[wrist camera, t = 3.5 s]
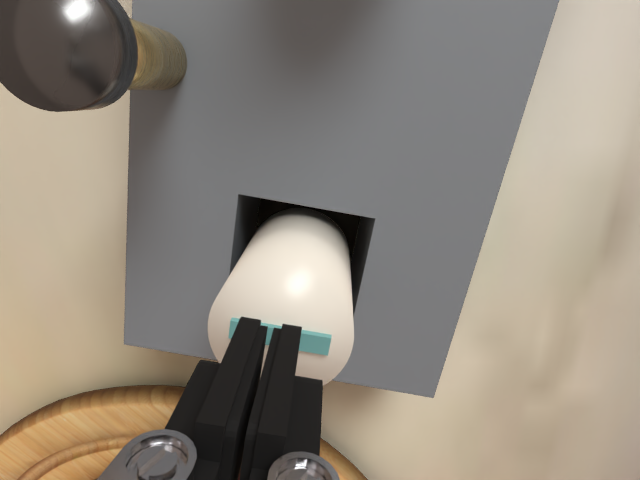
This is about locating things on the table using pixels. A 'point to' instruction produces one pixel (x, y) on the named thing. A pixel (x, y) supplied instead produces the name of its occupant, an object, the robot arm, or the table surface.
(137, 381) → the table surface
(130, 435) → the wooden plate with food
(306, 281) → the knob
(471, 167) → the panel
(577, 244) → the table surface
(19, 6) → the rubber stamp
